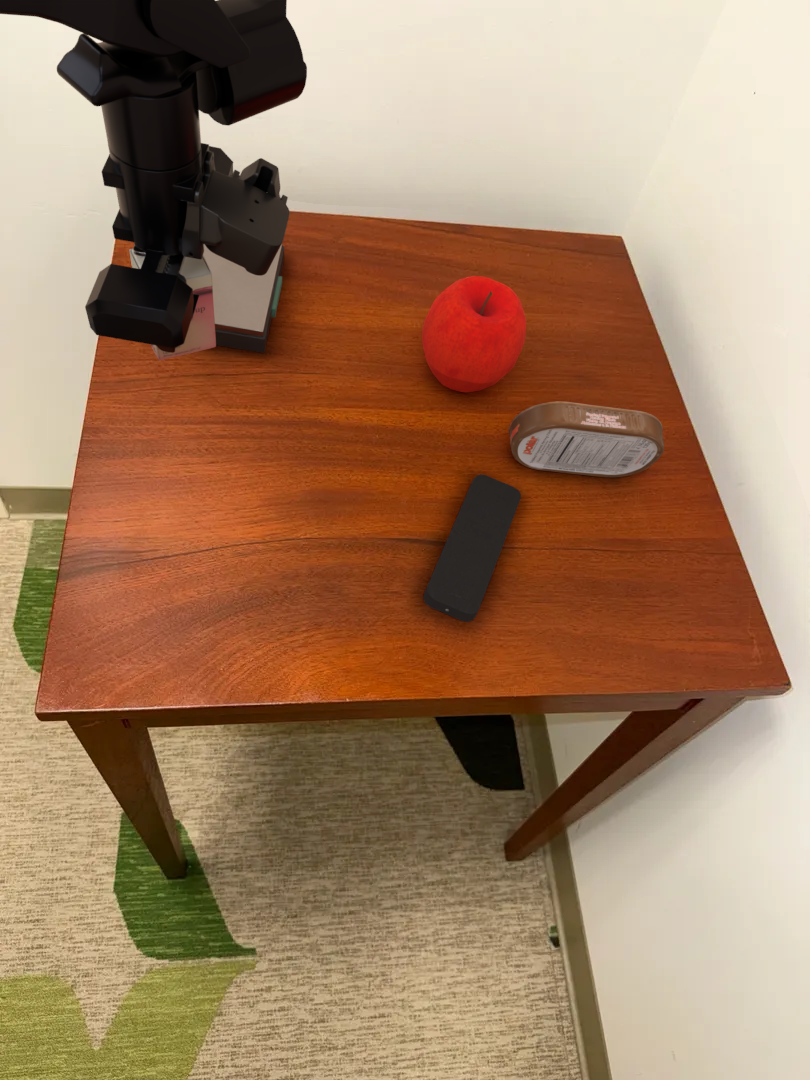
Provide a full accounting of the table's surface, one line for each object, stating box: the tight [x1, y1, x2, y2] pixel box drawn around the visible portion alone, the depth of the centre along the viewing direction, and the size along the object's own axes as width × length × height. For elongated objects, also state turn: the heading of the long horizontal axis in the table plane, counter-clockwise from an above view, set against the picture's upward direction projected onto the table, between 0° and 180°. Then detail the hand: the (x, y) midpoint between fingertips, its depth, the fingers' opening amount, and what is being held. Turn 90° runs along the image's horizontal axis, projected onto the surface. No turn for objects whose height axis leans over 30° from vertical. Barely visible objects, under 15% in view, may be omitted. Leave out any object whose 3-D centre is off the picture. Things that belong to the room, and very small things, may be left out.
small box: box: [129, 248, 217, 361], centre depth 60 cm, size 5×4×8 cm
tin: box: [508, 400, 665, 479], centre depth 73 cm, size 15×3×8 cm, turn 90°
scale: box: [203, 241, 285, 354], centre depth 79 cm, size 11×14×3 cm
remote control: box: [422, 474, 522, 623], centre depth 70 cm, size 5×2×15 cm
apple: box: [421, 275, 528, 393], centre depth 75 cm, size 10×10×12 cm
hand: (177, 322), depth 62 cm, fingers closed on small box, 6 cm apart
